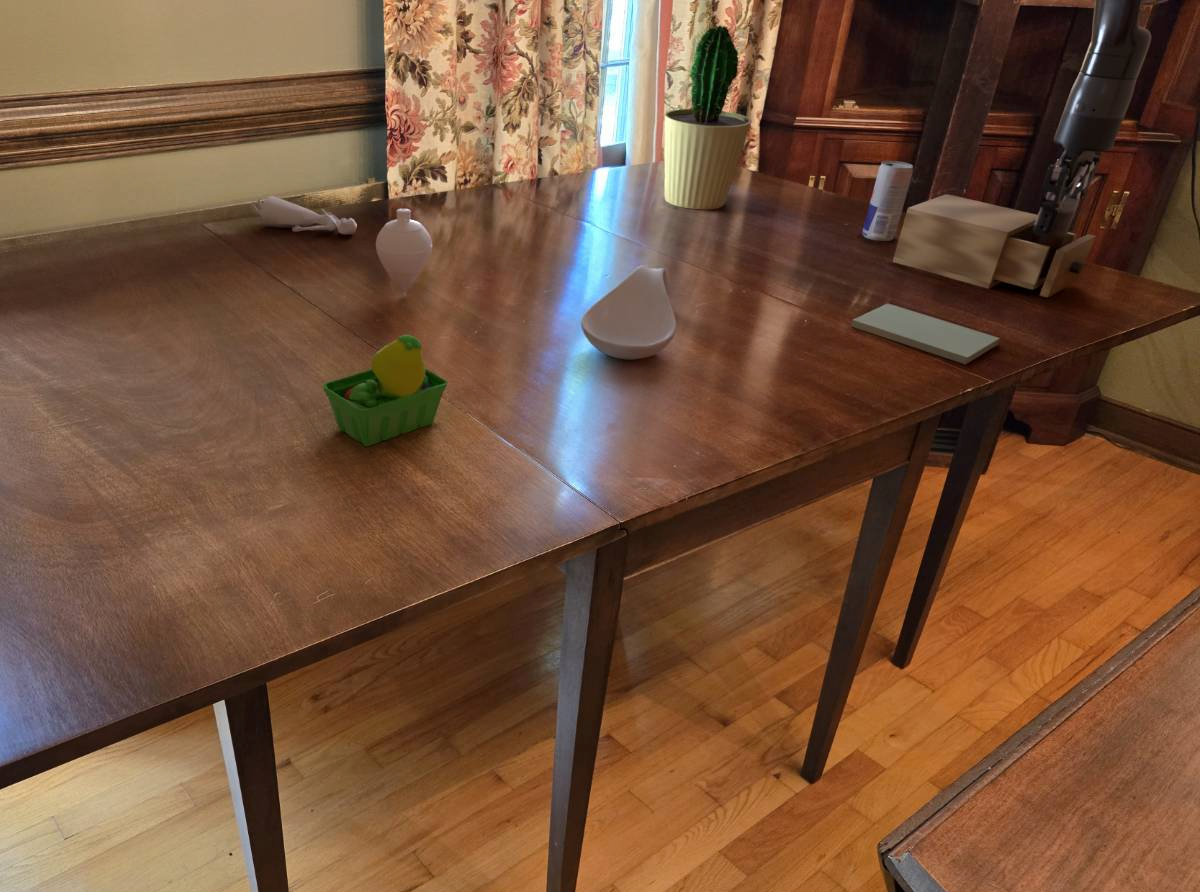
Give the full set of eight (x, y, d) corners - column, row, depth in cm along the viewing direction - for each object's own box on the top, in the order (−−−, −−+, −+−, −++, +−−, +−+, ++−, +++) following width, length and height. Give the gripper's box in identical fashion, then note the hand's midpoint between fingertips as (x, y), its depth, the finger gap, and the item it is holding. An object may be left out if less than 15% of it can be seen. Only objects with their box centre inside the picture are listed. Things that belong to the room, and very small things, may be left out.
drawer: (1086, 282, 147) (1104, 237, 143) (1056, 300, 140) (1074, 254, 136) (985, 255, 157) (999, 213, 153) (951, 271, 149) (965, 227, 145)
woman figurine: (270, 185, 162) (369, 204, 159) (271, 211, 165) (369, 231, 162) (237, 203, 153) (342, 224, 150) (238, 230, 155) (341, 252, 152)
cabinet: (1023, 270, 154) (1043, 216, 149) (988, 289, 146) (1008, 232, 141) (930, 245, 163) (946, 193, 158) (892, 261, 155) (907, 207, 150)
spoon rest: (663, 377, 115) (672, 321, 111) (568, 362, 118) (573, 306, 114) (690, 310, 134) (699, 259, 130) (608, 298, 137) (614, 248, 133)
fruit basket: (406, 399, 108) (406, 302, 102) (457, 428, 103) (460, 329, 96) (321, 428, 102) (315, 327, 95) (371, 461, 96) (368, 357, 90)
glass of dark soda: (1055, 274, 147) (1083, 200, 140) (1043, 280, 144) (1072, 205, 138) (1024, 266, 149) (1051, 193, 143) (1012, 272, 147) (1039, 198, 140)
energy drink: (872, 230, 169) (891, 159, 162) (900, 238, 166) (920, 165, 159) (855, 235, 166) (874, 163, 159) (883, 243, 163) (903, 170, 156)
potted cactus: (735, 216, 173) (770, 29, 156) (650, 207, 176) (674, 23, 159) (737, 194, 186) (769, 19, 168) (657, 186, 188) (680, 13, 171)
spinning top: (366, 300, 133) (363, 212, 126) (393, 283, 138) (392, 198, 132) (415, 310, 130) (415, 221, 123) (441, 293, 136) (442, 207, 129)
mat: (997, 345, 128) (1000, 338, 127) (965, 364, 122) (967, 357, 121) (885, 309, 137) (887, 303, 136) (850, 326, 131) (852, 319, 131)
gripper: (1105, 121, 127) (1057, 248, 137) (1140, 109, 135) (1092, 230, 145) (1047, 111, 131) (1004, 235, 141) (1084, 100, 140) (1041, 218, 149)
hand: (1049, 232), depth 143 cm, fingers open, 5 cm apart
